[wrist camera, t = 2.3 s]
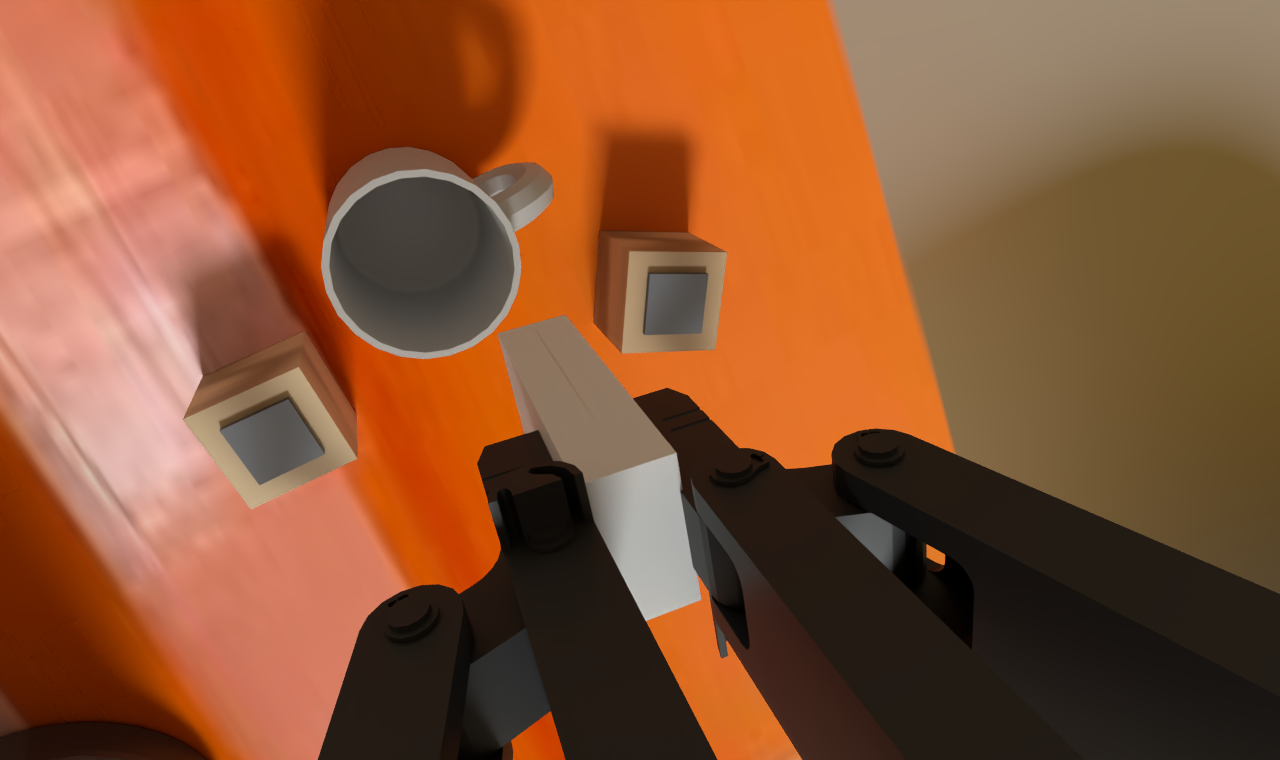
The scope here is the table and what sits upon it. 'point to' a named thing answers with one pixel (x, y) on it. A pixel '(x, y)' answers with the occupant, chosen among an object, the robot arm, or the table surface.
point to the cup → (427, 249)
